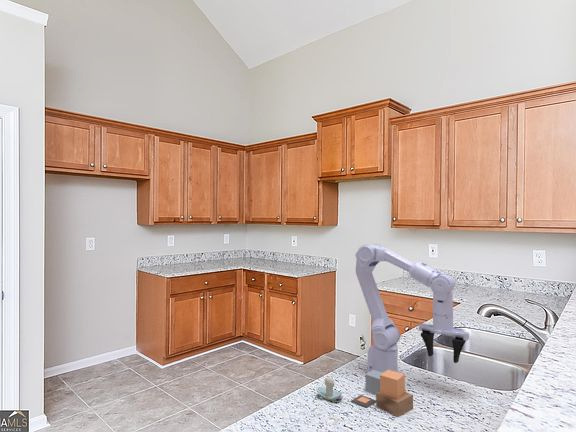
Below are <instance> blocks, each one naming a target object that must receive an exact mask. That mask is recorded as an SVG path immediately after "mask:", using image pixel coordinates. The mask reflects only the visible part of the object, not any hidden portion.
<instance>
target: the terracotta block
mask: <svg viewBox="0 0 576 432" xmlns="http://www.w3.org/2000/svg"><path fill="white" fill-rule="evenodd" d="M398 372H399V371H398ZM398 372H394V371H391V370H387V371H385V372H384V373H382V374H381V375H380V394H383V395H386V396H389V397H392V398H396V399H398V398H399V397H401V396H402V395H403V394H404V393H405V392H406V375H405V373H403V372H402V373H403V374H402V373H398Z"/></svg>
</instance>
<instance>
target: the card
mask: <svg viewBox="0 0 576 432" xmlns="http://www.w3.org/2000/svg"><path fill="white" fill-rule="evenodd" d="M350 401H351V403H353V404H355V405H359V406H360V407H362V408H365V409H368V408H369V407H371V406H372V405H374V404H376V399H373V398H371V397H369V396H365V395H363V394H360V395H357V397H355V398H353V399H351V400H350Z"/></svg>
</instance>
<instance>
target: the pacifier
mask: <svg viewBox="0 0 576 432" xmlns="http://www.w3.org/2000/svg"><path fill="white" fill-rule="evenodd" d="M324 384H325V385H324V386H325V387H324V386H318V387H317V388H316V390H317V394H318V395H319V396H320V397H322V398H324V400H327V401H337V400H342V399H343V397H344V396H343V392H342V391H337V390H334V387H335V385H336V383H335V381H334V380H333V378H332V377H329V376H328V377H325V379H324Z"/></svg>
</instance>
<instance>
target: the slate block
mask: <svg viewBox="0 0 576 432" xmlns="http://www.w3.org/2000/svg"><path fill="white" fill-rule="evenodd" d="M382 373H383V372H379V371H376V370H373V371H371V372H369V373H366V374H365V375H364V376H365V388H364V389H365V392H366V393H367V392H368V393H370V394H372V395H375V396H376V393H377V392H379V391H380V375H381V374H382Z"/></svg>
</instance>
